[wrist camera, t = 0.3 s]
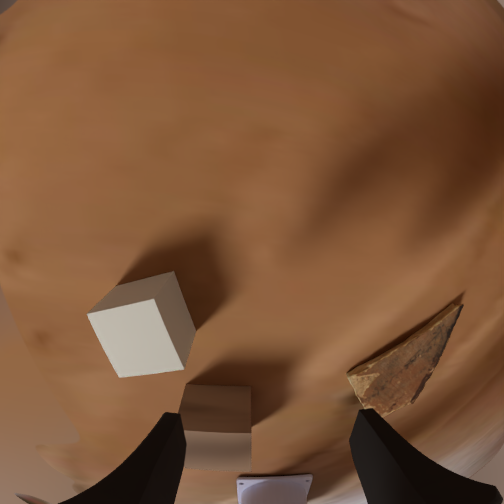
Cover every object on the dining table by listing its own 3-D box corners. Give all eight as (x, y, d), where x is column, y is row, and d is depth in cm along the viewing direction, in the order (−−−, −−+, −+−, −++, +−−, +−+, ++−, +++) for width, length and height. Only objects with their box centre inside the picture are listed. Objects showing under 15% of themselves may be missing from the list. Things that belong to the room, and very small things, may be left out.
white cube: (196, 330, 20) (184, 369, 16) (140, 341, 20) (119, 377, 16) (174, 270, 19) (153, 298, 15) (116, 285, 19) (86, 313, 15)
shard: (454, 296, 20) (466, 305, 18) (464, 356, 22) (473, 366, 20) (341, 366, 21) (347, 380, 20) (368, 416, 23) (373, 429, 22)
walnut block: (251, 426, 23) (251, 471, 18) (193, 424, 23) (184, 468, 18) (251, 385, 21) (251, 433, 17) (186, 383, 21) (173, 429, 17)
